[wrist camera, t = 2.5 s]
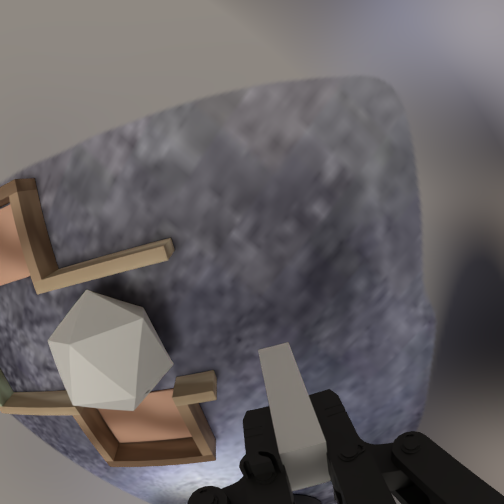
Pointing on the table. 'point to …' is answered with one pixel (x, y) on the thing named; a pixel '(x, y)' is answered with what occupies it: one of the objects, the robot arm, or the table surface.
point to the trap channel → (58, 402)
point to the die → (108, 353)
